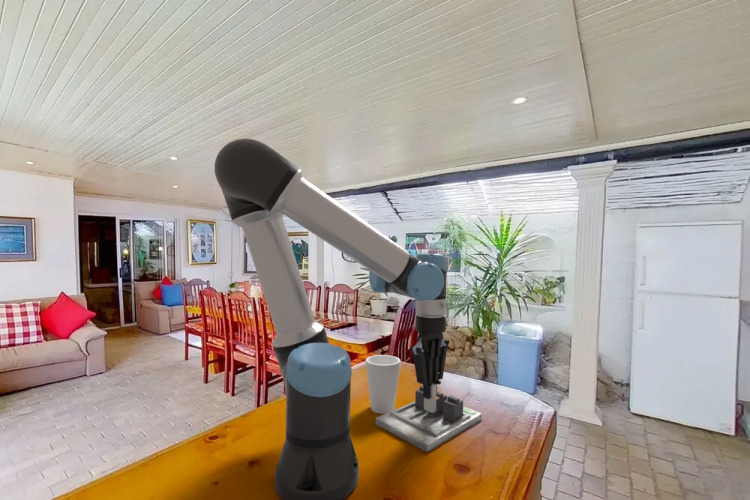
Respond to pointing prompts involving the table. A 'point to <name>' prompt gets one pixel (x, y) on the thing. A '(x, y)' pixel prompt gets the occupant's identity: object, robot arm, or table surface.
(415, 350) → the robot arm
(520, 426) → the table surface
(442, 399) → the breaker
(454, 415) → the breaker
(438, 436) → the panel
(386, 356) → the foam cup
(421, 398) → the block
